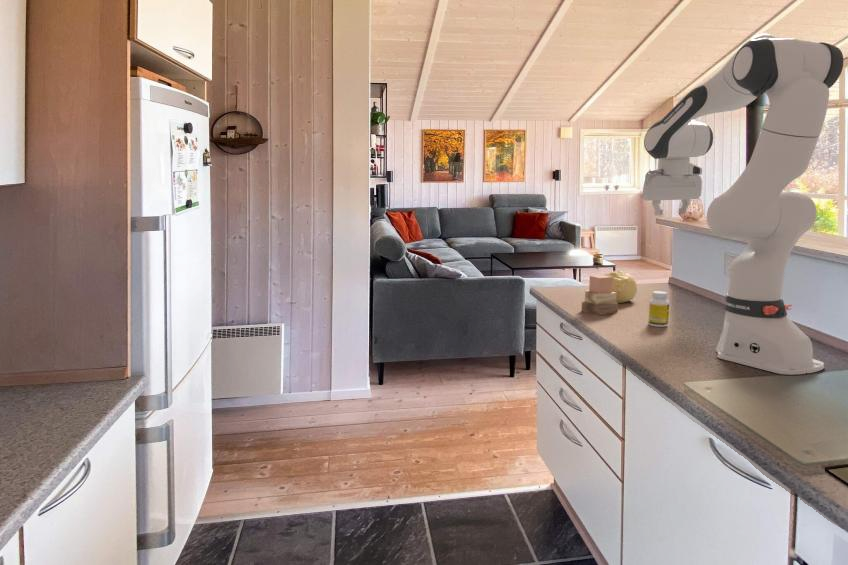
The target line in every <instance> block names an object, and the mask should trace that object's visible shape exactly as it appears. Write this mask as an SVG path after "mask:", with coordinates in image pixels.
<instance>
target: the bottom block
mask: <svg viewBox="0 0 848 565" xmlns="http://www.w3.org/2000/svg"><path fill="white" fill-rule="evenodd" d="M618 306H619V303H616V304H607V305H594V304H592V303H589V302H586V301H585V300H584V301H582V302H581V312H583V313H588V314H592V315H596V314H598V315H597V316H601V315H603V316H606V314H607V315H611V314H610V313H612V314H615V313H618V312H619V310H618V309H619V307H618Z"/></svg>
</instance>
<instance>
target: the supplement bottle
mask: <svg viewBox="0 0 848 565" xmlns="http://www.w3.org/2000/svg"><path fill="white" fill-rule="evenodd" d="M651 297H652V298H651V299H650V300H649V304H648V316H647V317H648V318H647V320H648V321H647V323H648V325H649V326H651V327H656V328H658V327H659V328H665V327H668V325H669V312H670V301H669V300H668V299H667V298H668V292H666V291H662V290H655V291H652V295H651Z"/></svg>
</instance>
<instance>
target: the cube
mask: <svg viewBox="0 0 848 565" xmlns="http://www.w3.org/2000/svg"><path fill="white" fill-rule="evenodd" d="M612 278H613V277H610V276H606V275H604V274H596V275H589V282H588V283H589V285H588V286H589V287H588V288H589V289H588V290H589V291H591V292H594V293H598V294H601V293H612Z"/></svg>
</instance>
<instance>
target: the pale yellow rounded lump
mask: <svg viewBox="0 0 848 565" xmlns="http://www.w3.org/2000/svg"><path fill="white" fill-rule="evenodd" d="M603 275H606V276H610V277H613V278H612V292H615V293H616V303H618V304H619V303H620V304H621V303H627V302H630V301H632V300H633V299H634V298H635V297H636V295H637V291H638V286H637V281H636V280H635V278H634V277H633V276H632V275H631V274H629V273H627V272H624V271H620V270H613V271H610V272H607V273H605V274H604V273H603Z"/></svg>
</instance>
